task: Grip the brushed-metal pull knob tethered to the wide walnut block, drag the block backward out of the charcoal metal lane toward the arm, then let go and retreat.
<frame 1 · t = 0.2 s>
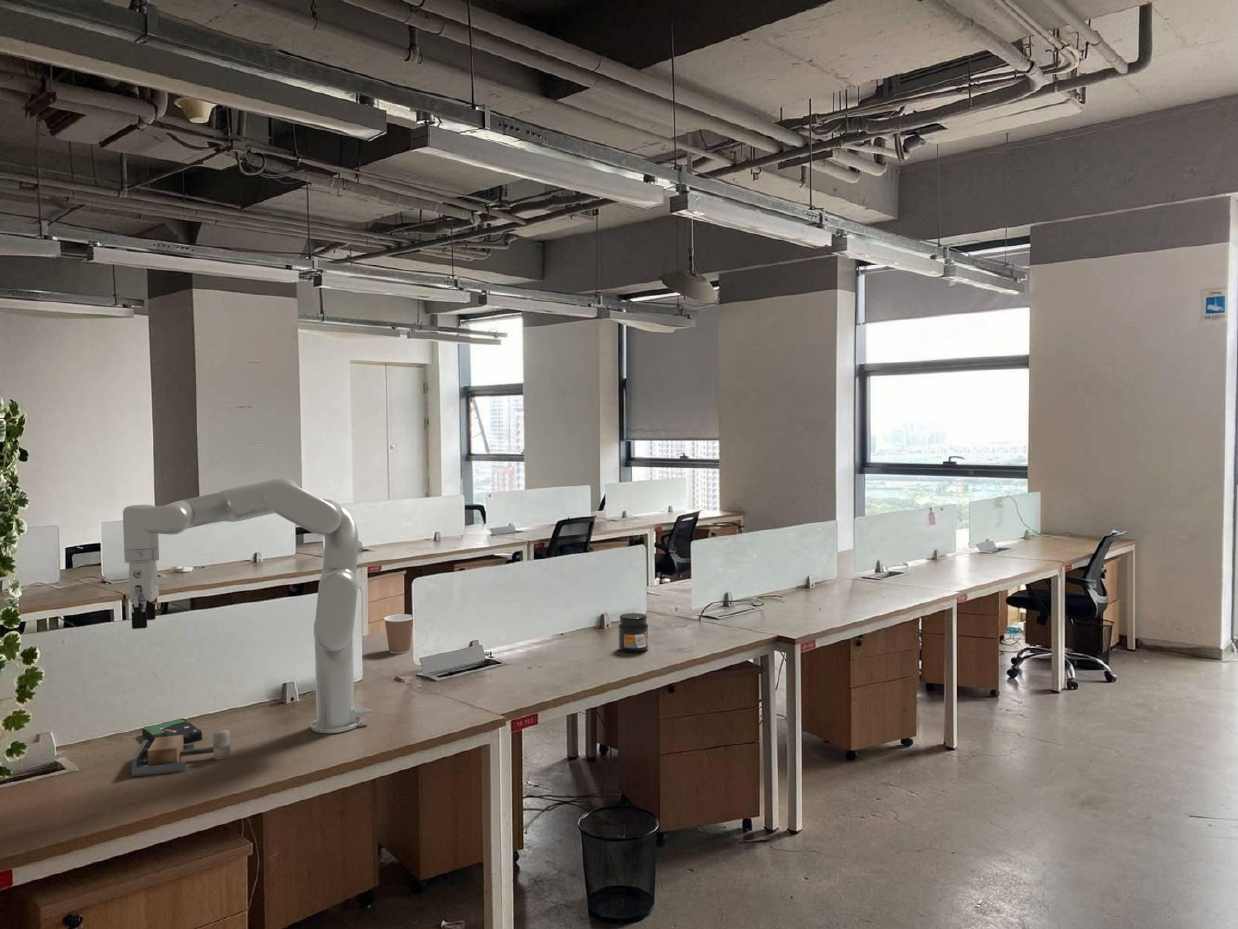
hand: (144, 624, 217), 31 cm above the table, fingers open, 9 cm apart
disk drive: (172, 740, 225), on the table
coffee cup: (399, 651, 309), on the table
supplement container: (633, 650, 308), on the table
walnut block: (166, 763, 208), on the table
metal lane: (185, 761, 209), on the table
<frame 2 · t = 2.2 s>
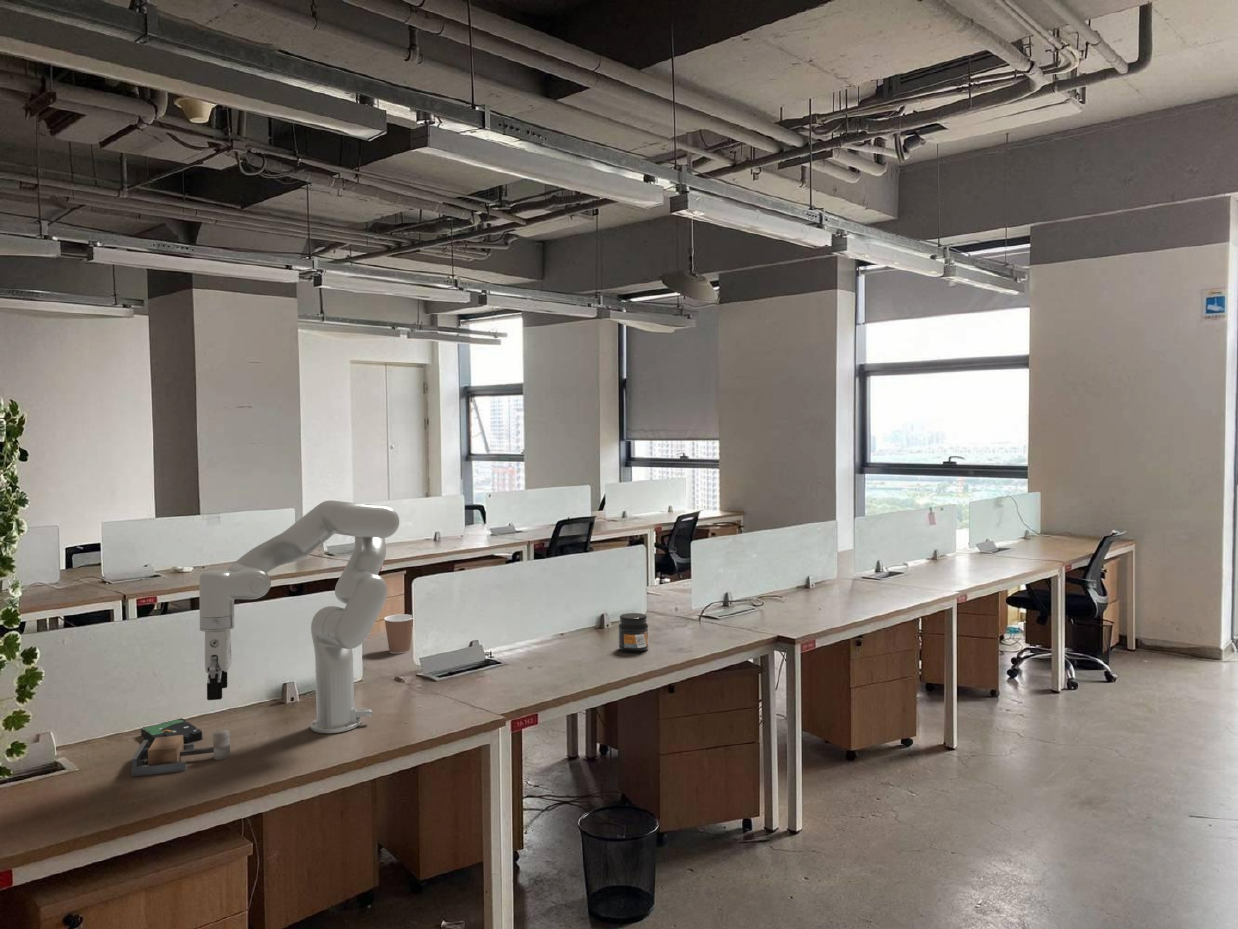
hand: (217, 693, 210), 16 cm above the table, fingers open, 9 cm apart
nothing on the table moved.
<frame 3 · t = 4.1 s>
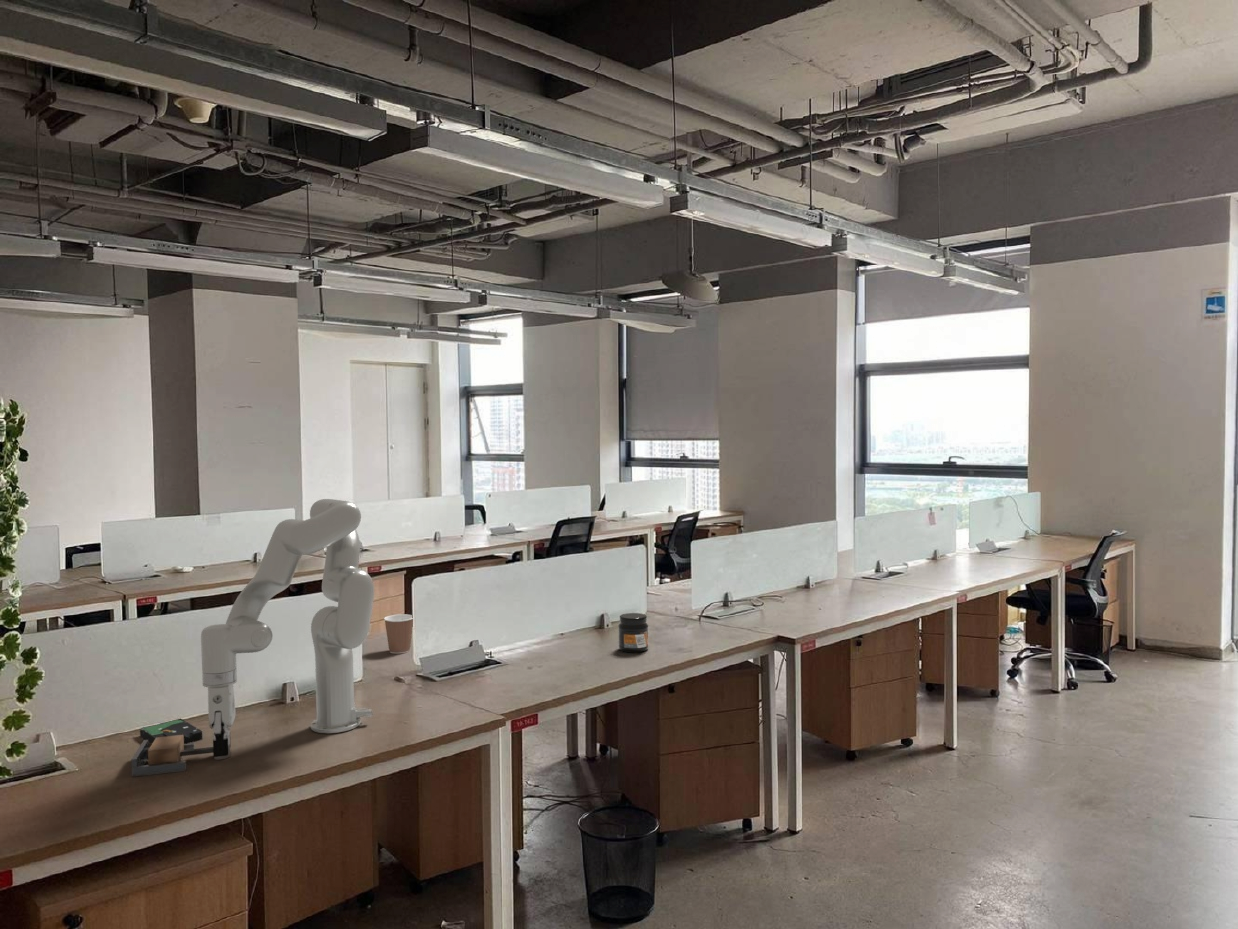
hand: (222, 751, 211), 1 cm above the table, fingers closed on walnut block, 3 cm apart
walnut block: (167, 763, 208), on the table, touching gripper
everything else where it was.
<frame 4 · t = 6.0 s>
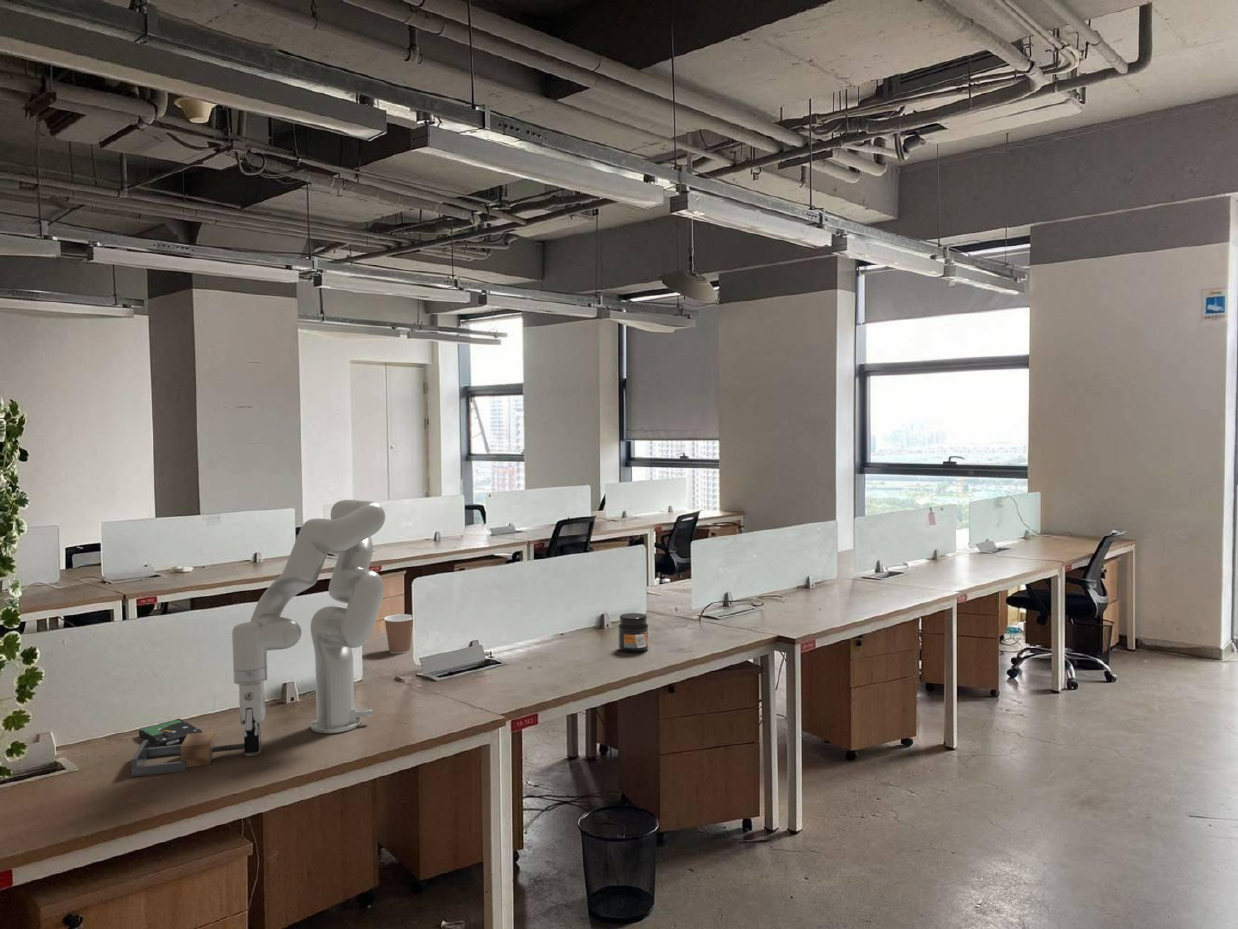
hand: (252, 748, 213), 1 cm above the table, fingers closed on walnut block, 3 cm apart
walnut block: (198, 759, 210), on the table, touching gripper
everything else where it was.
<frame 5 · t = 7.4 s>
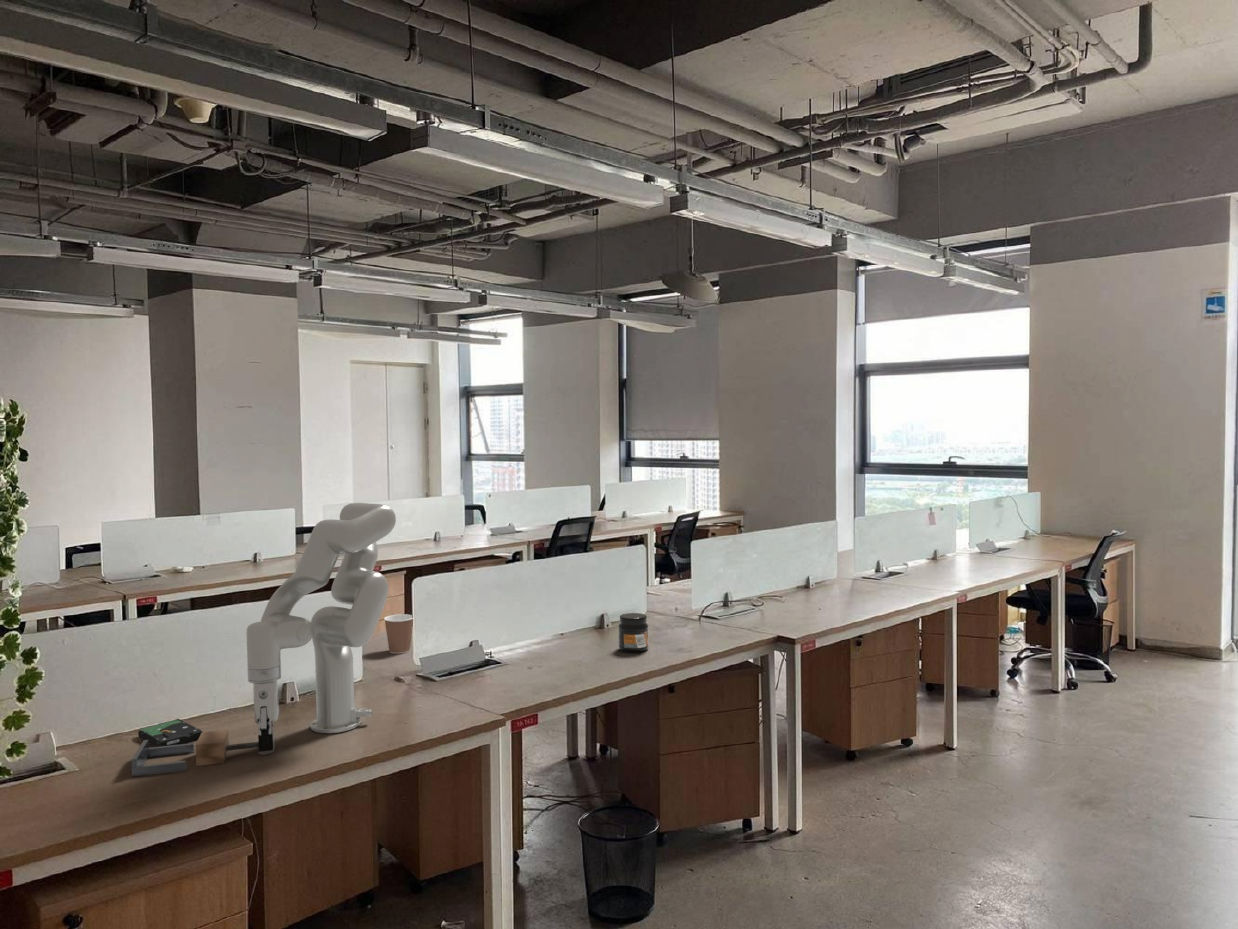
hand: (266, 746, 214), 1 cm above the table, fingers closed on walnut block, 3 cm apart
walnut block: (213, 757, 211), on the table, touching gripper
everything else where it was.
when the fingers open (1 cm above the table, at t = 7.8 s): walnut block stays where it is, on the table.
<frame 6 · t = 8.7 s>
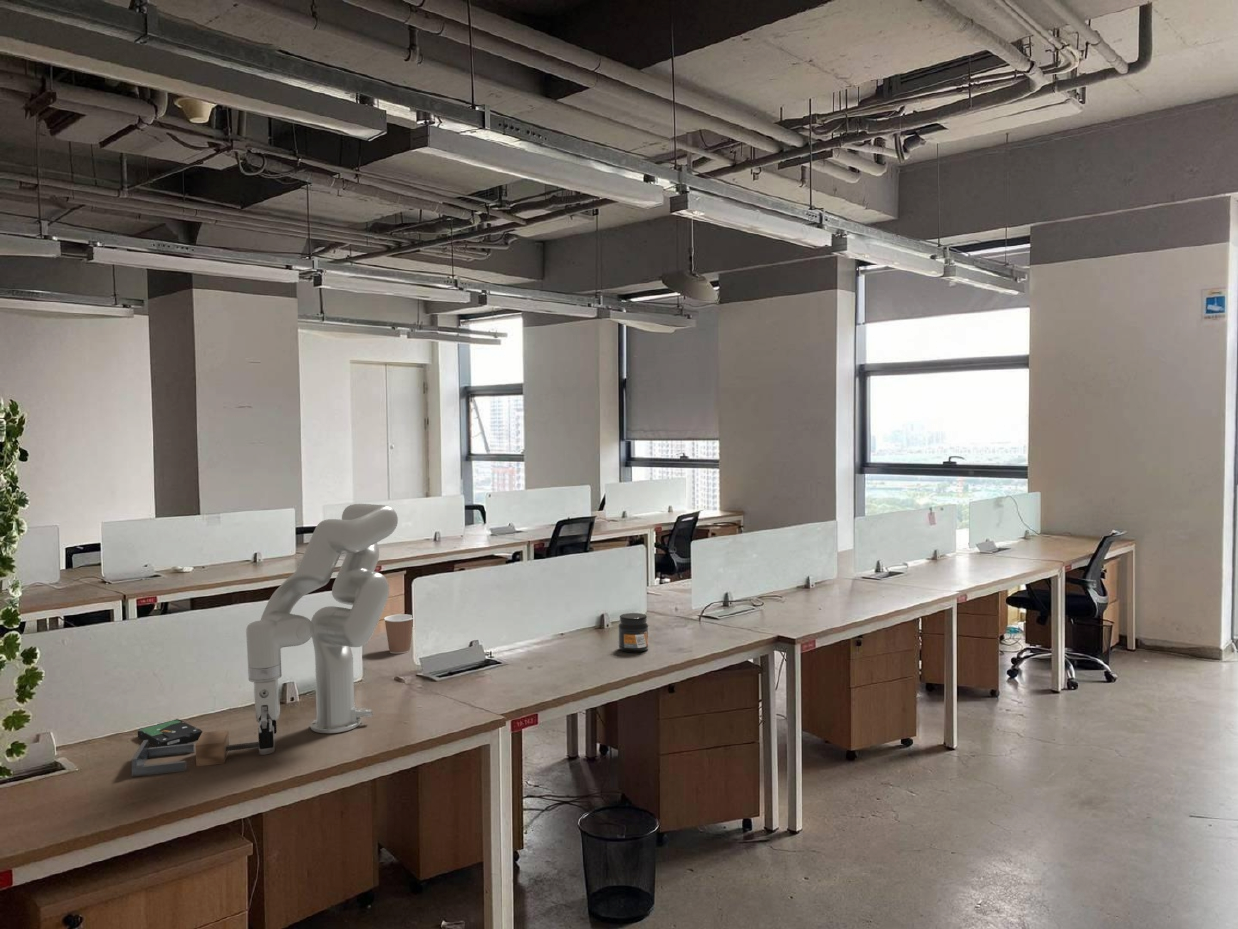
hand: (268, 740, 215), 3 cm above the table, fingers open, 9 cm apart
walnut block: (213, 758, 211), on the table
everything else where it was.
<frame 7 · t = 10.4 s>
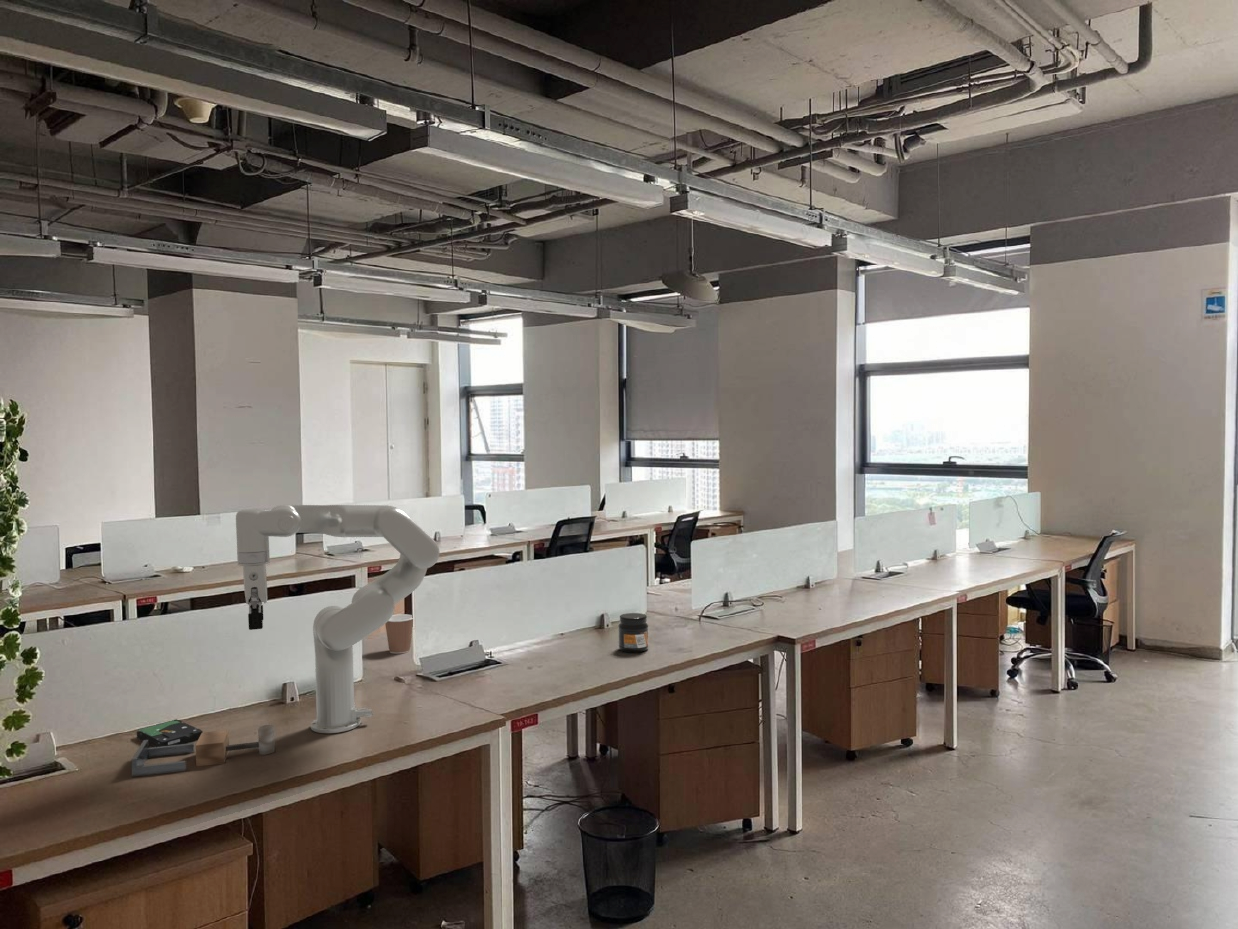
hand: (256, 625, 223), 29 cm above the table, fingers open, 9 cm apart
nothing on the table moved.
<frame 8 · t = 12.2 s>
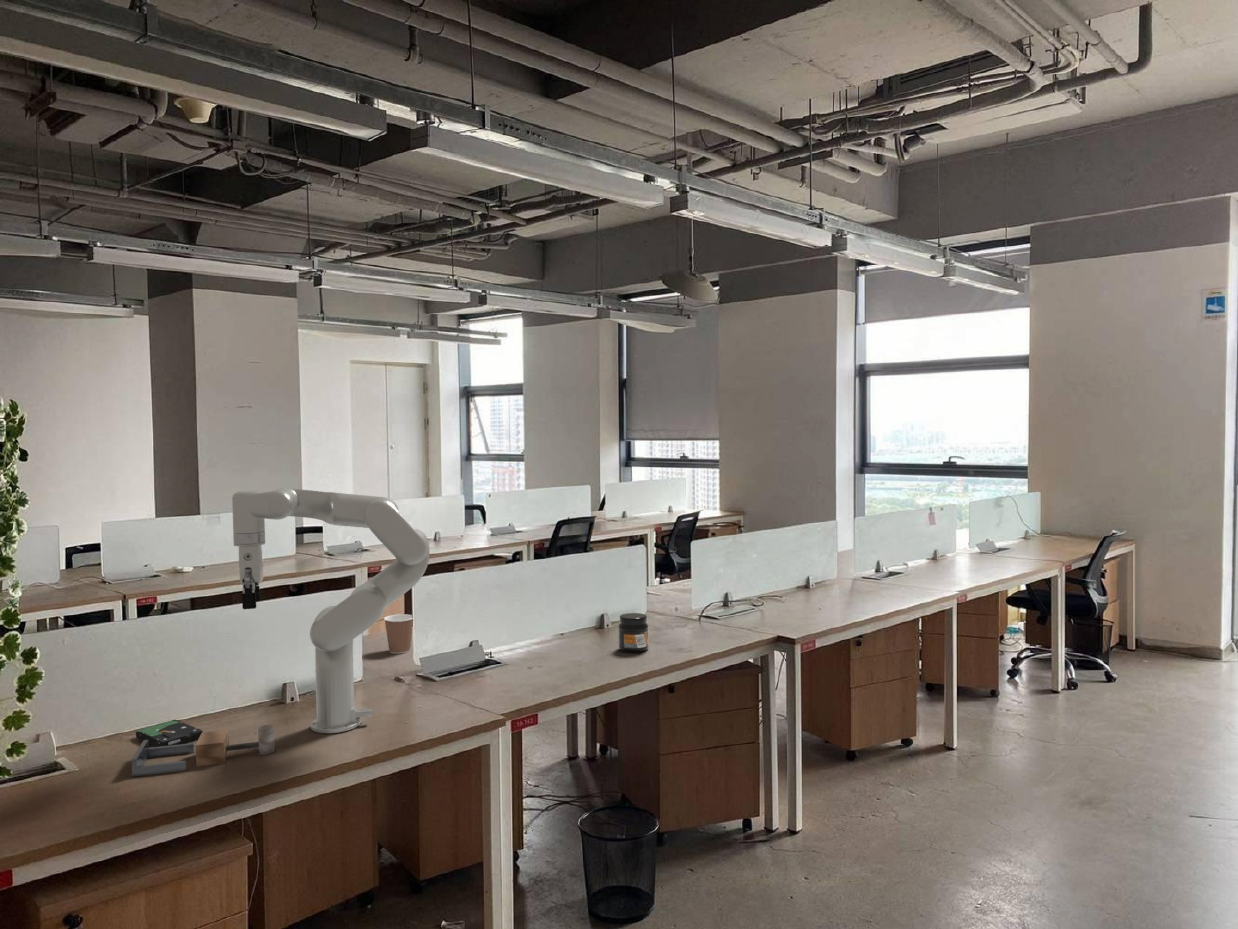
hand: (251, 605, 227), 33 cm above the table, fingers open, 9 cm apart
nothing on the table moved.
at the end: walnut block inside the target area (1.8 cm from its centre), on the table; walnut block tilted 0°; the gripper is holding nothing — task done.
